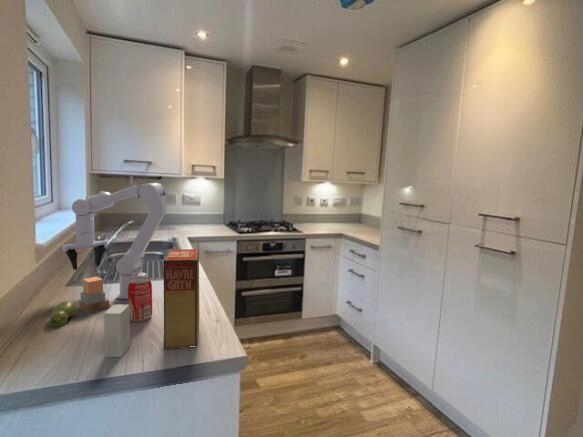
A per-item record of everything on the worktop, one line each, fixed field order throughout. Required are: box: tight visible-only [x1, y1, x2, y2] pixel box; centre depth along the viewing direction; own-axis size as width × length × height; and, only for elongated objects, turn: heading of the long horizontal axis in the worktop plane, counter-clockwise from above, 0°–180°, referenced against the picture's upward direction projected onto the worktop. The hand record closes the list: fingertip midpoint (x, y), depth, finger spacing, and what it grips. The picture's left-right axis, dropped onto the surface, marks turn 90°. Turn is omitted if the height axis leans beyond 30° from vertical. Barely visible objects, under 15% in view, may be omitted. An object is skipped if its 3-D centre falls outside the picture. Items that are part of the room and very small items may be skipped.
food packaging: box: [162, 248, 200, 350], centre depth 99 cm, size 13×9×25 cm
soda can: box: [127, 276, 153, 323], centre depth 111 cm, size 7×7×13 cm
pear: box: [49, 300, 77, 327], centre depth 107 cm, size 6×5×10 cm
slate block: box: [80, 291, 106, 305], centre depth 117 cm, size 6×6×3 cm
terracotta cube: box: [82, 276, 104, 295], centre depth 117 cm, size 4×4×4 cm
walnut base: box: [78, 297, 110, 314], centre depth 118 cm, size 7×7×3 cm
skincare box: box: [103, 304, 131, 358], centre depth 90 cm, size 6×4×12 cm
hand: (86, 267), depth 128 cm, fingers open, 7 cm apart
